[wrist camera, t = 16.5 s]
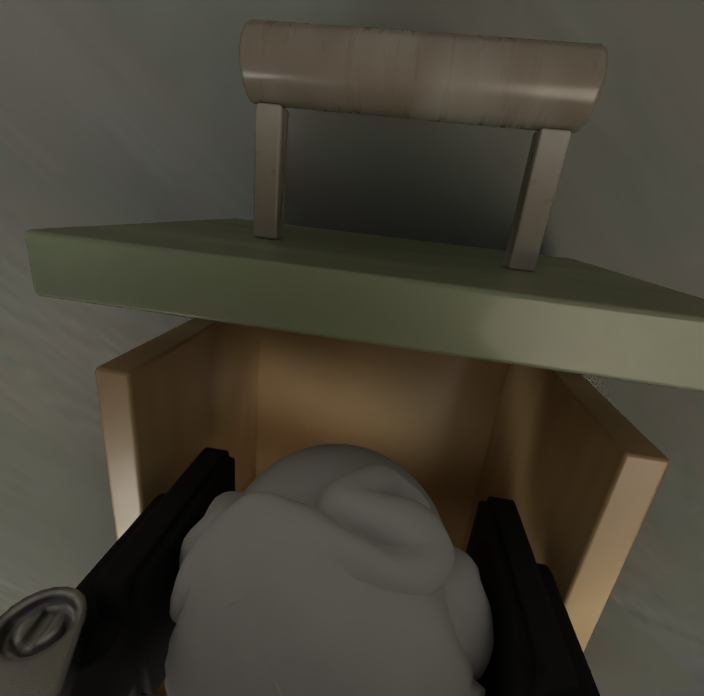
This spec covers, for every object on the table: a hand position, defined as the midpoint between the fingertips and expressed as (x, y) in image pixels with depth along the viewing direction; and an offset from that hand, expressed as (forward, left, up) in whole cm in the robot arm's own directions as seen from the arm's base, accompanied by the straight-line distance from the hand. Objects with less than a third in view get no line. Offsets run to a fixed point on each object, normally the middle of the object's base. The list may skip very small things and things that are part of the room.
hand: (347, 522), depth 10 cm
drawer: (-1, 0, -7) cm, 7 cm away
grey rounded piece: (0, 0, -1) cm, 1 cm away
